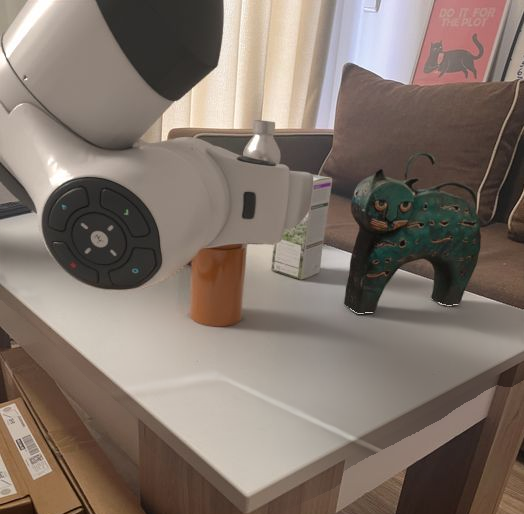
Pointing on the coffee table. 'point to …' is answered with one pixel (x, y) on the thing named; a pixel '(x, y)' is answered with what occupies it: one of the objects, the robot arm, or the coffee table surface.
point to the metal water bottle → (263, 142)
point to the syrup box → (305, 236)
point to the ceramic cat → (410, 237)
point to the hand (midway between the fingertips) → (224, 173)
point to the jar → (218, 285)
